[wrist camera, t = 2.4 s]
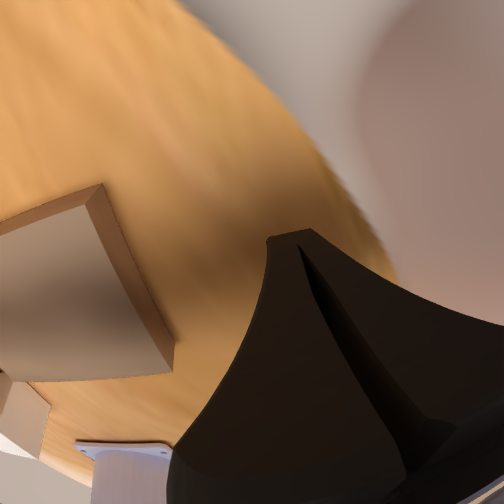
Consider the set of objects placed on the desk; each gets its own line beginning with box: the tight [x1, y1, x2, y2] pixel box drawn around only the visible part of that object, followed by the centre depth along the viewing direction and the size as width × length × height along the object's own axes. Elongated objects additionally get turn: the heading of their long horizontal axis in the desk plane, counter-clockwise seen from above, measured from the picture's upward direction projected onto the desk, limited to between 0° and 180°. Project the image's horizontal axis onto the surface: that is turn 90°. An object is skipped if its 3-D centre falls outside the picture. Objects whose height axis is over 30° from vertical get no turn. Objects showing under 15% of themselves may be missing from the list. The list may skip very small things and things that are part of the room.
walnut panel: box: [0, 183, 175, 382], centre depth 10 cm, size 7×9×2 cm
